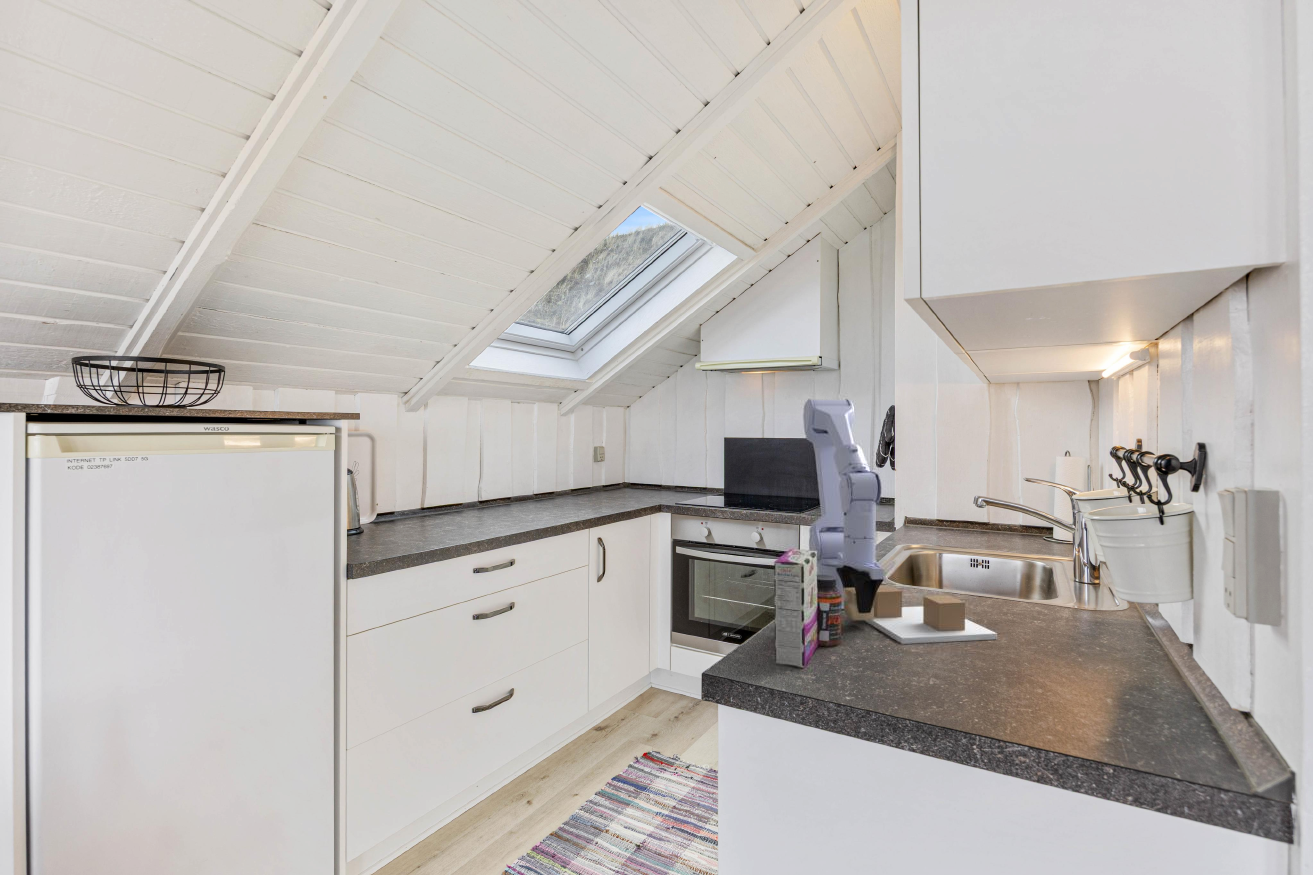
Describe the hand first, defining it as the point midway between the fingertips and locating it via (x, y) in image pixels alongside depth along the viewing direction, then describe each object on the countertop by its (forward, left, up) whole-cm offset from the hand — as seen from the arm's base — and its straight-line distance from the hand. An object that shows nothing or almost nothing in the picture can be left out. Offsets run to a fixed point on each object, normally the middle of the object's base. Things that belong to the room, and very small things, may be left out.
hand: (858, 608), depth 119 cm
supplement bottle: (+7, -10, -4) cm, 13 cm away
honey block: (0, 0, -1) cm, 1 cm away
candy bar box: (+13, -17, -4) cm, 22 cm away
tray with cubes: (+1, +12, -3) cm, 12 cm away
